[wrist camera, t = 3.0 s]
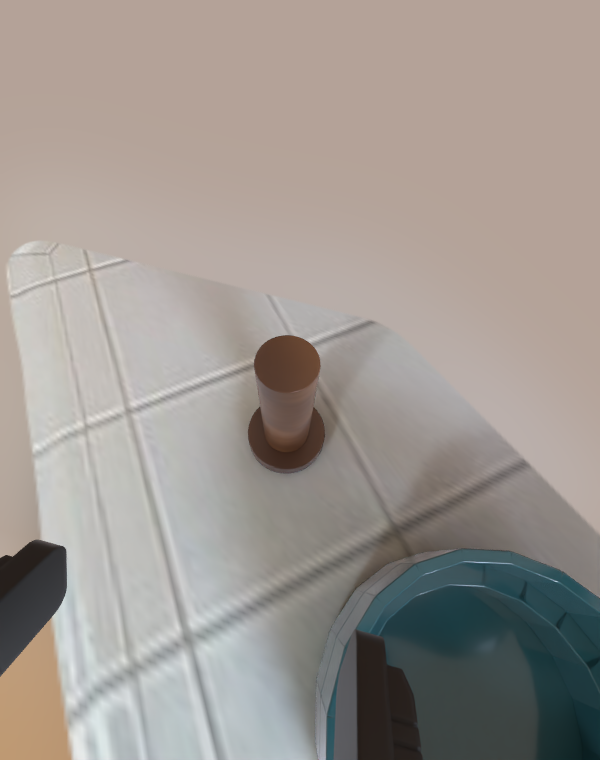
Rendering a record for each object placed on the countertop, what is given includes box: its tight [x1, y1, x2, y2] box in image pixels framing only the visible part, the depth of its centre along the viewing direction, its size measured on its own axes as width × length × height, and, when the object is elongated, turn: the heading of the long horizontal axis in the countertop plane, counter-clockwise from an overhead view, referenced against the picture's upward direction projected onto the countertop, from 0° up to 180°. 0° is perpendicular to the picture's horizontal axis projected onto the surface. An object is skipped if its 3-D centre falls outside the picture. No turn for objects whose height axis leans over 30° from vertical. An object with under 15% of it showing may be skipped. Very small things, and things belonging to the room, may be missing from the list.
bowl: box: [315, 548, 600, 760], centre depth 17 cm, size 15×15×6 cm
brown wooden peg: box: [248, 335, 325, 473], centre depth 21 cm, size 5×5×11 cm
